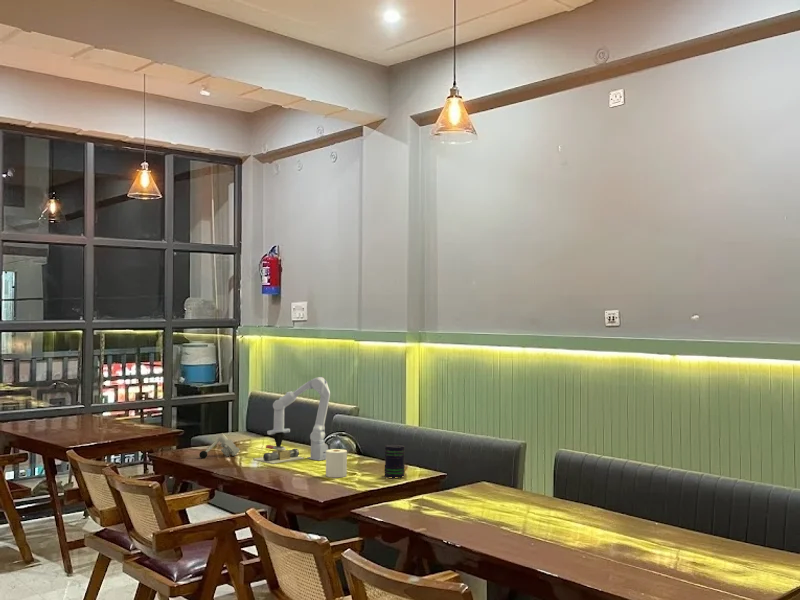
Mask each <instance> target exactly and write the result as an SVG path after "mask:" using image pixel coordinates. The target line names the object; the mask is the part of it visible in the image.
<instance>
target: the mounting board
mask: <svg viewBox="0 0 800 600" xmlns="http://www.w3.org/2000/svg"><path fill="white" fill-rule="evenodd" d="M252 460H253V461H257V462H262V463H267V464H271V465H273V464H278V463H286V462H291V461H297V460H305V456H304V457H302V456H300V455H298V457H290V459H284V460H277V459H276V460H270V461H264V459H263V456H262V457H261V456H260V457H256V458H253V459H252Z"/></svg>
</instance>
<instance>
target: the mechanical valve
mask: <svg viewBox="0 0 800 600" xmlns="http://www.w3.org/2000/svg"><path fill="white" fill-rule="evenodd" d="M219 442H220V443H221V444H220V445H219V446H220V447H221V449H220V451H221V453H222V454H223V455H224V456H225V457H229V456H230V455H231V456H233V457H236V456H237V454H238V453H239V452H240V450H241V449H240V447H237V446H236V444H235V443H234V441H233V440H232V439H230V440H229V438H228V437H227V436H226V435H225V434H224V433H223V432H222V433H220V434H219V435H218V437H217V439H216V440H215V441H214V442H213V443H212V444H211V445H210V446H209V447H208V448H206V450H202V451H200V452H199V454H198V455H199V457H200V459H206V458H207V457H208V453H209V451H211V450H212V448H214V447H215V446H216V445H217V444H218V443H219Z"/></svg>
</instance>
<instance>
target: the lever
mask: <svg viewBox="0 0 800 600" xmlns="http://www.w3.org/2000/svg"><path fill="white" fill-rule="evenodd" d="M265 446H266V447H265V448H266V449H269V450H273V451H275V450H277V451H285V450H287V447H285V446H283V445H281V446H279V447H277V446H276V445H272V444H266V445H265Z"/></svg>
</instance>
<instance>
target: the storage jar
mask: <svg viewBox="0 0 800 600" xmlns="http://www.w3.org/2000/svg"><path fill="white" fill-rule="evenodd" d="M405 447H406V445H404V444H401V443H388V444H385V445H384V457H385V459H384V460H385V462H384V469H383V470H384V477H385V476H386V477H392V478H391V479H394V478H395V477H402V476H404V477H405V468H406V467H405V457H406V449H405ZM386 477H385V478H386Z"/></svg>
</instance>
